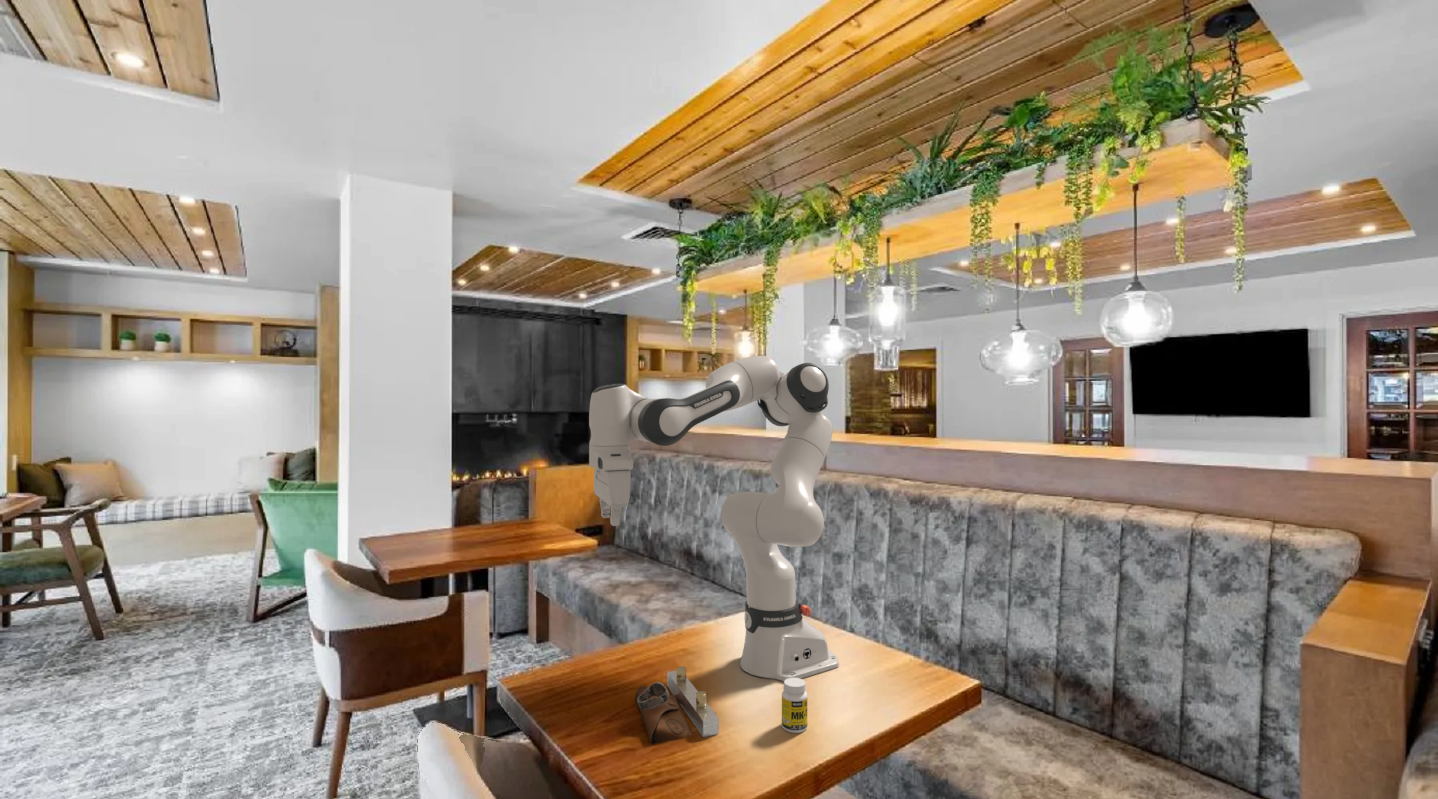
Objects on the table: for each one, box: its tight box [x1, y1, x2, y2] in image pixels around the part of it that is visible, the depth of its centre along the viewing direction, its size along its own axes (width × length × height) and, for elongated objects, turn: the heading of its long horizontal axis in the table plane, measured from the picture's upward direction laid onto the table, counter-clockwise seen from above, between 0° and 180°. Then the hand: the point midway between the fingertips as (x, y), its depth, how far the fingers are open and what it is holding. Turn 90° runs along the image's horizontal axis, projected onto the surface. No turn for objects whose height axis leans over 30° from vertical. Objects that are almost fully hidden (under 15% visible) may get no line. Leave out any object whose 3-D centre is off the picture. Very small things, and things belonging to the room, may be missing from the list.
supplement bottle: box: [781, 678, 808, 734], centre depth 120 cm, size 5×5×8 cm
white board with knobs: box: [666, 665, 720, 738], centre depth 127 cm, size 3×22×6 cm, turn 22°
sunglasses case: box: [634, 685, 693, 745], centre depth 124 cm, size 18×7×7 cm
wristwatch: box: [636, 681, 670, 710], centre depth 122 cm, size 4×6×5 cm
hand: (610, 521), depth 141 cm, fingers open, 8 cm apart
